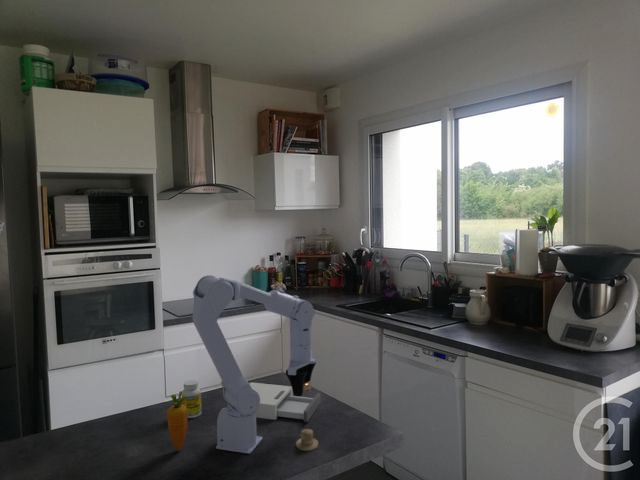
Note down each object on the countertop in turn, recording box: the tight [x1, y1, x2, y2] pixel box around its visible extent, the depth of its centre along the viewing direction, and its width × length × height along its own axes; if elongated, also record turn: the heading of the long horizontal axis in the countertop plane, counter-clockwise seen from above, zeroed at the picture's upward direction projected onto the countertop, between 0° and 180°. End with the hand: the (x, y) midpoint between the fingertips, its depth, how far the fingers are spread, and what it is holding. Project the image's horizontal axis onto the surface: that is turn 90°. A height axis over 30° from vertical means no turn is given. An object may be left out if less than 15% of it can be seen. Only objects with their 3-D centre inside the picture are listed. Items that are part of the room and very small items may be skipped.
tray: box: [277, 392, 322, 423], centre depth 139 cm, size 13×13×3 cm
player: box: [249, 381, 293, 421], centre depth 142 cm, size 14×14×4 cm
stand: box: [295, 428, 319, 452], centre depth 119 cm, size 6×6×4 cm
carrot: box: [166, 390, 189, 452], centre depth 117 cm, size 5×5×15 cm
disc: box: [303, 380, 312, 393], centre depth 129 cm, size 5×5×2 cm
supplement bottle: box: [181, 379, 203, 419], centre depth 138 cm, size 5×5×10 cm
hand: (301, 391), depth 129 cm, fingers closed on disc, 5 cm apart
